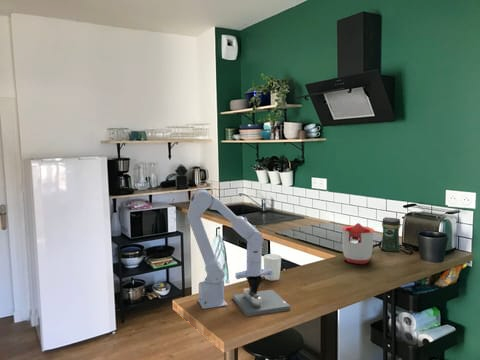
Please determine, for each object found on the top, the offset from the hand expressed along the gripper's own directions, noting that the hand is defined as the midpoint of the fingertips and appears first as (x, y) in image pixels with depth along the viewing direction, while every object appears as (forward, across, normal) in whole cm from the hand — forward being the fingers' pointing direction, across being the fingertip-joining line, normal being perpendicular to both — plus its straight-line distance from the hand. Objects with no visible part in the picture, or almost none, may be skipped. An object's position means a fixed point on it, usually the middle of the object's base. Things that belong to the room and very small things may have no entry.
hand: (253, 294), depth 152 cm
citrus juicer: (+3, -68, -29) cm, 74 cm away
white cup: (+3, -17, -20) cm, 27 cm away
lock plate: (+2, -1, +4) cm, 5 cm away
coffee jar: (+3, -99, -40) cm, 107 cm away
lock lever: (+1, +2, +4) cm, 5 cm away
